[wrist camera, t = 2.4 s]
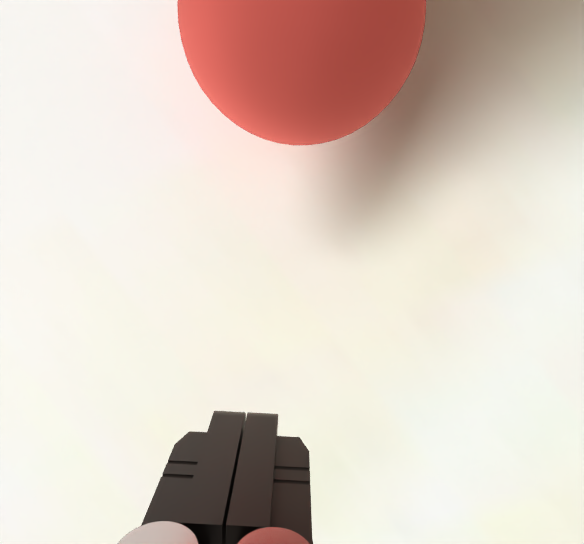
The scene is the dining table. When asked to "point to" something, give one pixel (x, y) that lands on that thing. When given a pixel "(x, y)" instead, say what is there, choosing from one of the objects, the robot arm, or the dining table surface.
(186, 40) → the ball
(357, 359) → the dining table surface
